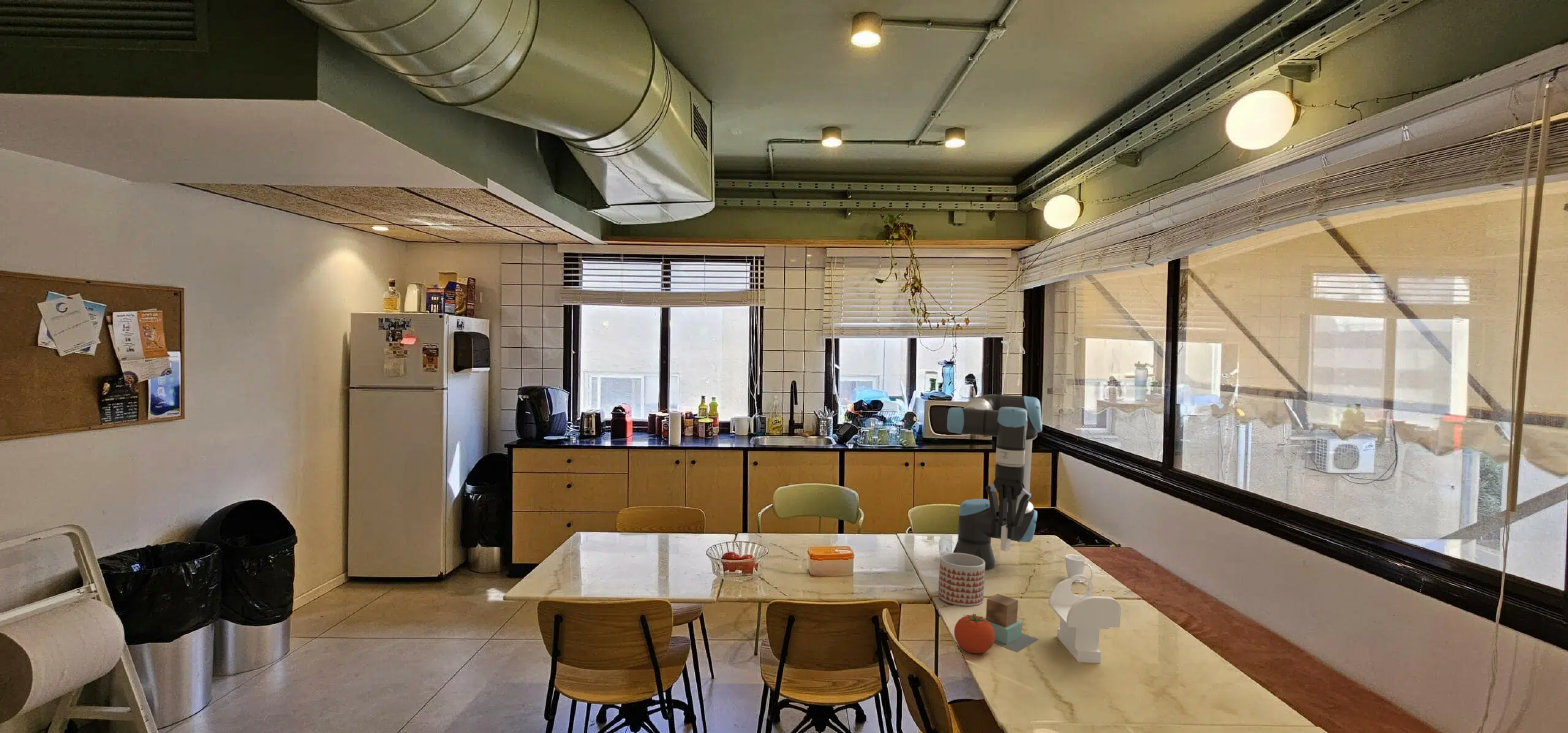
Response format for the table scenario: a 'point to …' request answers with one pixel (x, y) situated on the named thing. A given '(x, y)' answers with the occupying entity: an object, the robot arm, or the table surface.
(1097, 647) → the tape dispenser
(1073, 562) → the cup
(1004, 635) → the teal base block
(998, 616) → the walnut block
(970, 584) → the planter
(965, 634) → the tomato
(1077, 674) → the table surface
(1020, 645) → the build mat
